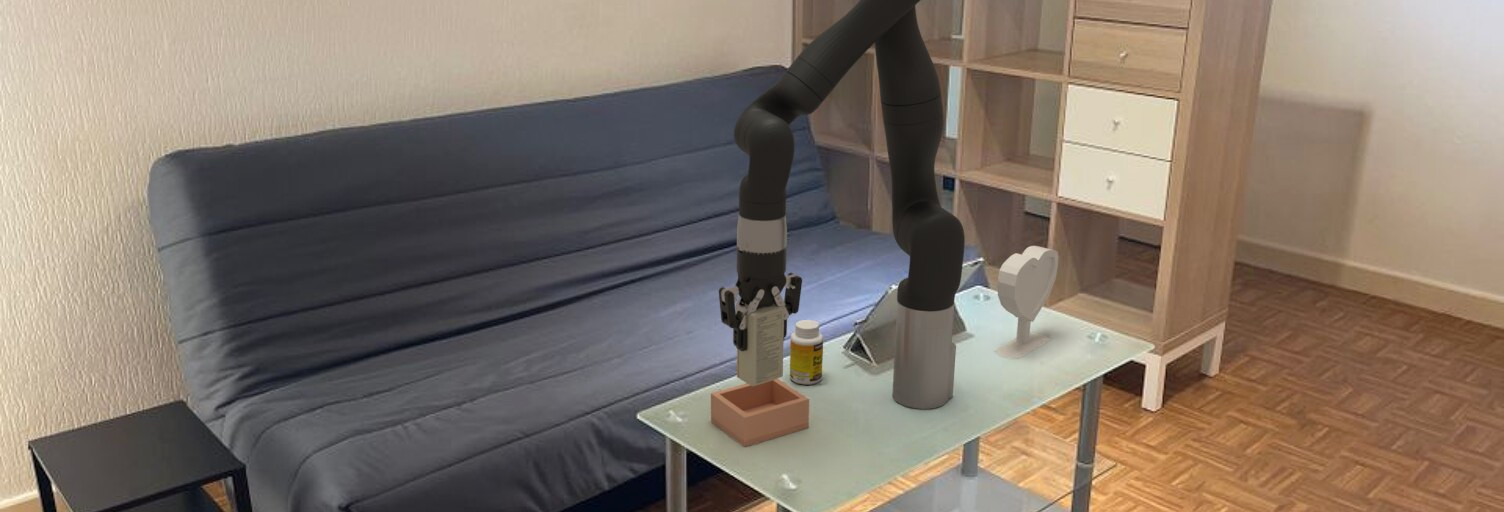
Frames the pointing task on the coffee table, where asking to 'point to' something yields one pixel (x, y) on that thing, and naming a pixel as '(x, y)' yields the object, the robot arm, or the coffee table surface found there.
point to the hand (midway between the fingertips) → (759, 344)
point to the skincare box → (762, 346)
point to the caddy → (759, 411)
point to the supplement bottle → (806, 353)
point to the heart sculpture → (1026, 294)
